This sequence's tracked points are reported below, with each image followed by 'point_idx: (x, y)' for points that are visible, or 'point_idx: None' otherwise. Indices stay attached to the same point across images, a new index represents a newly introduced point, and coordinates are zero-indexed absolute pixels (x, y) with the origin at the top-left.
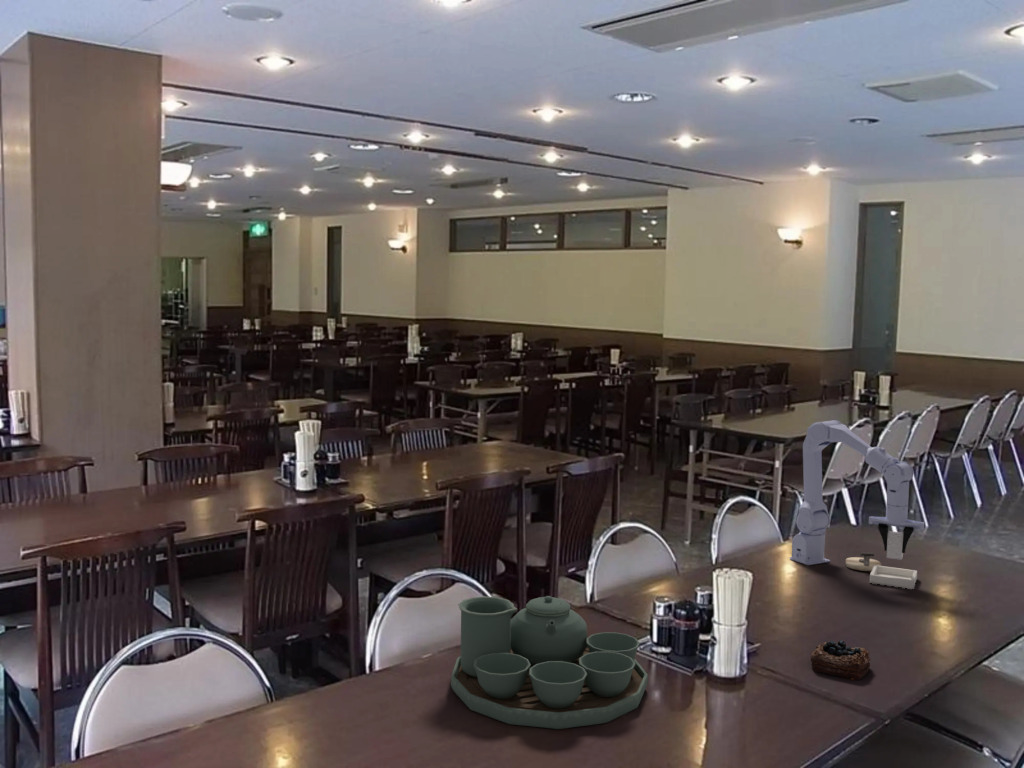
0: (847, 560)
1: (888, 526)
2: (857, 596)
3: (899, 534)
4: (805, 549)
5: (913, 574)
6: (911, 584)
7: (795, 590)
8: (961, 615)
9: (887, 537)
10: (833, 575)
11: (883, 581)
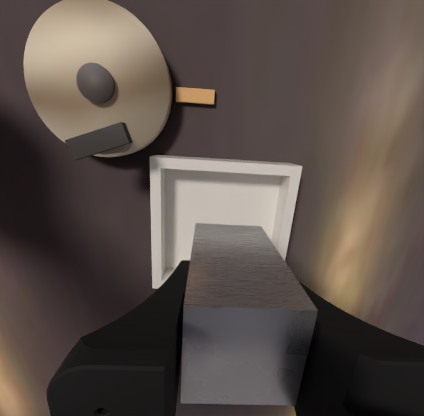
0: (36, 96)
1: (168, 372)
2: None
3: (272, 384)
4: None
5: (283, 224)
6: None
7: (17, 389)
8: None
9: (181, 321)
10: (50, 239)
11: None
